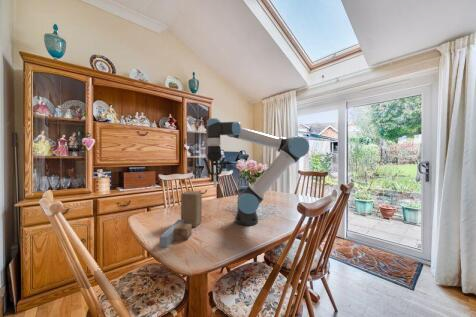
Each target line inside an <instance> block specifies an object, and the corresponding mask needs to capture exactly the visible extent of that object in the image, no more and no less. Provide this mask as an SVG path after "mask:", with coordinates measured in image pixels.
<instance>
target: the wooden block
mask: <svg viewBox="0 0 476 317" xmlns="http://www.w3.org/2000/svg"><path fill="white" fill-rule="evenodd" d="M202 193H203V192H202V191H199V190H197V191H196V190H187V191H185V192H181V193H180V220H184V224H192V228H197V227H198V226H199V225H200V224H201V223H202V221H203V220H202V216H203V214H202V213H203V212H202V209H203V208H202V206H203V204H202V203H203V201H202V200H203V199H202V198H203V197H202Z"/></svg>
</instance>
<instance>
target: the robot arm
mask: <svg viewBox="0 0 476 317" xmlns="http://www.w3.org/2000/svg"><path fill="white" fill-rule="evenodd" d="M206 136H207V154H206V156H205V157H204V158H203V162H204V163H205V165H206V167H205V168H206V170H207V174H208V175H210V176H211V181H212V182H213V187H214V188H216V187H217V186H218V181H219V179H220V178H219V176H220V175H221V174H222V173H223V168H224V162H225V161H226V157H225V156H222V152H221V150H222V149H221V144H222V143H221V136H227V137H229V138H234V139H237V140H241V141H245V142H249V143H252V144H256V145H260V146H263V147H266V148H271V149H274V150H275V151H276V152H277V153H278V152H279V155H277V157H275V159H274V160H273V161H272V162H271V163H270V165H268V167H267V168H266V169H265V170H264V171H263V172H262V174H261V175H260V176H259V177H258V178H257V179H256V180H255V182H253V184H248V186H247V185H246V186H245V185H244V186H243V185H242V186H240V185H239V186H238V187H237V200H236V203H237V211H236V214H235V216H234V223H236V224H237V225H241V226H254V225H257V224H258V223H259V216H258V213H257V210H258V208H259V206H260V204H261V203H262V201H264V200H265V194H266V193H267V192H268V191H269V190H270V189H271V188H272V186H273V185H274V184H275V183H276V182H277V180H278V179H280V177H281V176H282V175H283V174H284V173H285V172H286V170H288V168H289V167H290V166H291V165H292V164H296V163H298V162H299V160H300V159H301V158H303V157H305V156H306V155H307V154H308V153H309V150H310V143H309V141H308V139H307V138H305V137H304V136H301V135H295V136H292V137H283V136H280V137H277V136H274V135H271V134H270V135H269V134H266V133H264V132H259V131H255V130H252V129H248V128H245V127H241V121H223V122H222V121H221V120H220V119H219V118H208V119H207V121H206ZM208 160H209V161H210V165H209V162H208ZM220 160H221V161H220ZM219 161H220V162H221V163H220V167H219ZM214 163H215V164H214ZM214 165H215V166H214Z"/></svg>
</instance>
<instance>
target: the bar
mask: <svg viewBox="0 0 476 317" xmlns="http://www.w3.org/2000/svg"><path fill="white" fill-rule="evenodd" d="M178 224H184V220H181V219H178V220H177V221H175V222H174V223H173V224H172V225H171V226H170V227H169V228H168V229H167V230H165V231H164V232H163V233H162V234H161V235H159V248H168V247H169V246H170V245H171V244H172V242H173V241H175V240H174V228H175V227H176V226H177V225H178Z"/></svg>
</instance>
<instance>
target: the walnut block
mask: <svg viewBox="0 0 476 317" xmlns="http://www.w3.org/2000/svg"><path fill="white" fill-rule="evenodd" d="M192 228H193V227H192V224H178V225H177V226H176V227H175V228H174V240H173V241H175V240H176V241H189V239H190V238H191V236H192V231H193V230H192Z"/></svg>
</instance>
